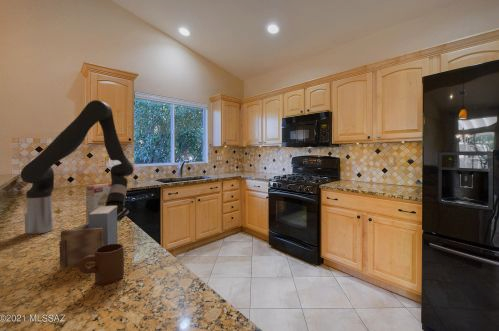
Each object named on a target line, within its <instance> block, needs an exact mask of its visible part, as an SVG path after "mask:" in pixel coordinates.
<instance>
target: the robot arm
mask: <svg viewBox="0 0 499 331" xmlns="http://www.w3.org/2000/svg"><path fill="white" fill-rule="evenodd" d="M113 114H114V113H113V110H112V107H111V106H110V105H109V104H108V103H106V102H105V101H101V100H99V99H98V100H97V99H95V100H90V101H89V102H88V103H87V104H86V105H85V106H84V108H83V109H82V110H81V112H80V113H79V114H78V116H76V118H75V119H74V120H73V121H72V122H71V123H70V124H68V125H67V127H65V129H63V130H62V131H61V132H59V134H58V135H57V136H56V137H55V138H54V139H53V140H52V142H50V143H49V145H48V146H46V147H45V149H44V150H43V151H42V152H41V153H39V155H37V156H36V157H34V159H32V160H30V162H28V163H27V164H26V165H25V166H24V167H23V168H22V169H21V172H20V178H21V180H22V181H23V182H24V183H27V184H31V185H32V186H31V187H30V189H28V190H27V191H26V193H25V195H26V196H25V197H26V198H25V199H26V200H25V202H26V213H24V234H25V235H39V234H44V233H48V232H50V231H53V229H54V227H53V226H54V225H53V224H54V223H53V198H52V197H53V195H52V194H53V191H54V187H55V186H54V185H55V172H54V170H53V167H52V166H53V165H55V164H56V163H58V162H59V161H61V160H63V159H65V158H66V157H68V156H70V155H72V154H73V153H74V152H75V151H76V150H77V149H78V148H79V147H80V146H81V144H82V143H83V142H84V141H85V139H86V136H87V135H88V133H89V131H90V130H91V128H93V126H94V125H96V124H97V123H98V124H99V125H100V128H101V130H102V134H103V143H104V146H105V150H106V153H107V156H108V157H109V160H110V161H117V162H119V163H118V164H115V165H112V167H111V168H110V172H109V173H110V176H111V177H110V178H111V182H110V183H111V186H110V189H109V192H108V196H107V201H106V205H105V206H117V222H120V221H122V220H123V219H124V218H125V217H126V216H127V215H128V214H129V213H130V211H129V208H126V207H125V202H126V196H127V187H128V182H129V181H128V179H127V177H128V176H131V175H132V174H133V173H134V166H133V164H132V163H131V161H130V160H129V158H128V157H127V156H126V155H125V152H124V149H123V146H122V144H121V141H120V139H119V136H118V132H117V129H116V125H115V121H114V115H113Z"/></svg>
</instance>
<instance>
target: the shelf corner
mask: <svg viewBox="0 0 499 331" xmlns="http://www.w3.org/2000/svg"><path fill="white" fill-rule="evenodd" d="M58 243H59V244H58V245H59V268H60V269H66V268H68V267H73V266H75V267H76V266H78V264H79V262H80V261H81V259H83V258H84V257H86V256H89V255H92V256H95V250H96V249H97V248H99V247H101V246H103V227H102V228H89V221H88V222H87V223H86V222H85V223H83V224H82V225H81V226H80V227H78V228H76V229H65V230H64V229H63V230H61V231H60V241H59V242H58ZM91 264H94V265H95V261H87V262H86V263H85V265H91Z"/></svg>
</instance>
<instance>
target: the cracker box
mask: <svg viewBox="0 0 499 331" xmlns="http://www.w3.org/2000/svg"><path fill="white" fill-rule="evenodd" d="M110 186H111V182H110V183H108V182H107V183H100V184H99V183H97V184H92V185H86V186H85V216H86V217H85V219H86V220H85V223H87V222H88V221H89V216H88V215H89V214H90V213H91V212H93V211H94V210H96V209H97V208H99V207H100V206H105V205H106V201H107V196H108V192H109V189H110Z"/></svg>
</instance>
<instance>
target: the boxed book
mask: <svg viewBox="0 0 499 331" xmlns="http://www.w3.org/2000/svg"><path fill="white" fill-rule="evenodd" d="M88 216H89V228H102V227H103V246H104V245H109V244H119V243H118V242H119V240H118V238H119V237H118V235H119V234H118V221H117V206H100V207H99V208H97V209H96V210H94V211H93V212H91V213H90V214H89V215H88Z"/></svg>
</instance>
